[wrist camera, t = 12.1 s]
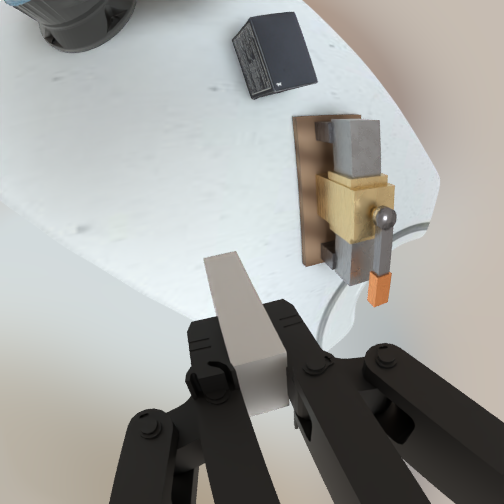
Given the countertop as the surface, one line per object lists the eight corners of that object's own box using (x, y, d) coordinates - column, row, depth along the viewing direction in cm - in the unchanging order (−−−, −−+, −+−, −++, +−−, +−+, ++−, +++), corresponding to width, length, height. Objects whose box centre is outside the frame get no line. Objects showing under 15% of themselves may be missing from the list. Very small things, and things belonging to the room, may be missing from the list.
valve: (311, 119, 42) (356, 121, 31) (348, 117, 43) (399, 122, 32) (318, 261, 53) (354, 298, 42) (350, 253, 54) (390, 286, 43)
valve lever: (371, 206, 36) (380, 211, 34) (388, 203, 36) (398, 207, 34) (366, 300, 43) (373, 307, 41) (381, 295, 43) (388, 301, 41)
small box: (290, 90, 40) (321, 84, 31) (251, 100, 40) (273, 94, 31) (270, 31, 35) (297, 10, 26) (230, 39, 35) (247, 16, 26)
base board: (292, 116, 42) (296, 116, 41) (356, 114, 44) (360, 114, 43) (302, 263, 54) (305, 266, 53) (357, 249, 56) (361, 252, 55)
